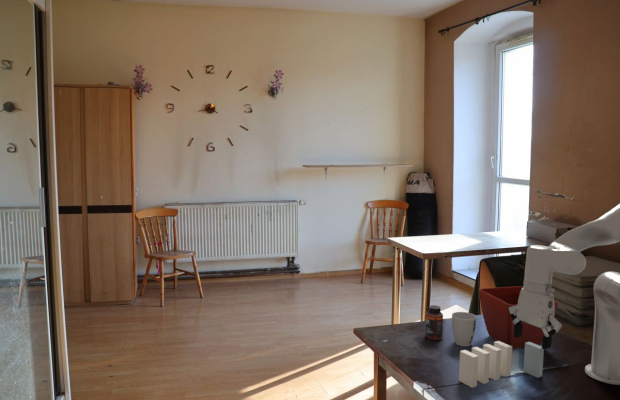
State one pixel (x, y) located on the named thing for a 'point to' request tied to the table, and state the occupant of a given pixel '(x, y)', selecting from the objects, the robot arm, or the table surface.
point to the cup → (463, 327)
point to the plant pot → (506, 317)
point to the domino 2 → (482, 364)
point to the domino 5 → (533, 359)
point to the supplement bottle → (434, 323)
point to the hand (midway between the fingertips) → (531, 342)
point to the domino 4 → (505, 357)
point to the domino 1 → (468, 368)
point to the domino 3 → (494, 361)
